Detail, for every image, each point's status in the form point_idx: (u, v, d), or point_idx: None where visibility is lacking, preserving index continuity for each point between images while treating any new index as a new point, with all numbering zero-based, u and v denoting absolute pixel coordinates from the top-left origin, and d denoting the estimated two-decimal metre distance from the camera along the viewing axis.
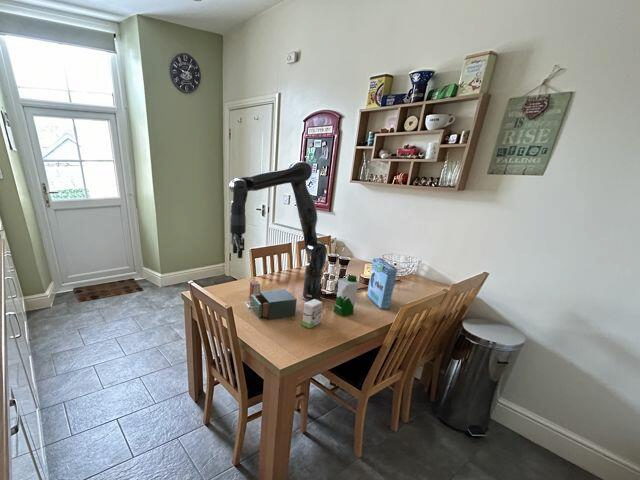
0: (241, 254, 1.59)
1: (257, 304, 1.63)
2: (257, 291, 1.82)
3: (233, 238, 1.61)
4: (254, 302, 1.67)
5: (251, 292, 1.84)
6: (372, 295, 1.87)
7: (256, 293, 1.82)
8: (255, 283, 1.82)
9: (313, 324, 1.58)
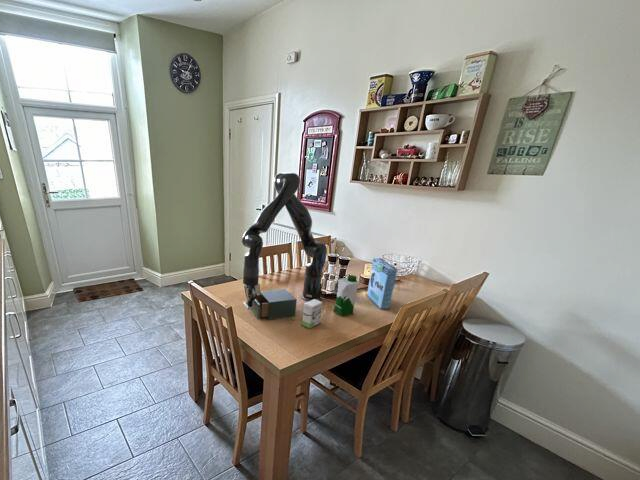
0: (251, 303, 1.64)
1: (256, 304, 1.62)
2: (257, 291, 1.82)
3: (246, 287, 1.62)
4: (253, 302, 1.66)
5: None
6: (372, 295, 1.87)
7: (256, 293, 1.82)
8: None
9: (313, 324, 1.58)
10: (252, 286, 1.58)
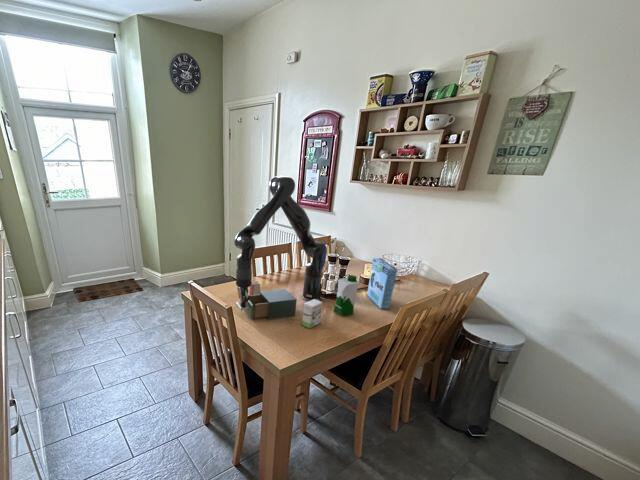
0: (244, 305, 1.63)
1: (249, 305, 1.61)
2: (257, 291, 1.82)
3: (239, 289, 1.61)
4: (246, 303, 1.65)
5: (251, 292, 1.84)
6: (372, 295, 1.87)
7: (256, 293, 1.82)
8: (255, 283, 1.82)
9: (313, 324, 1.58)
10: (245, 288, 1.57)
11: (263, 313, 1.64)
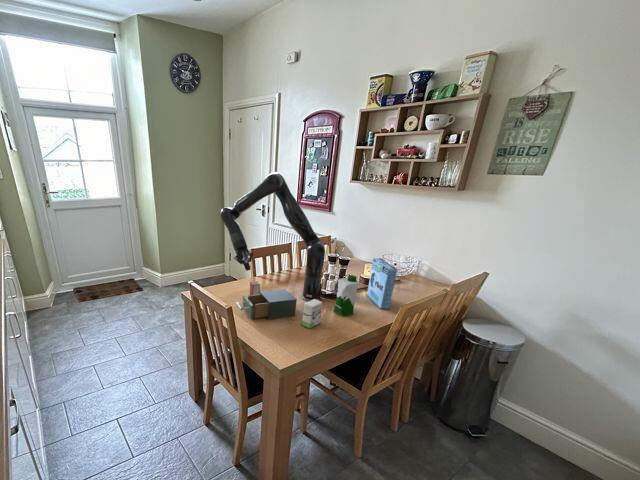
0: (245, 266, 1.81)
1: (249, 305, 1.61)
2: (257, 291, 1.82)
3: None
4: (246, 303, 1.65)
5: (251, 292, 1.84)
6: (372, 295, 1.87)
7: (256, 293, 1.82)
8: (255, 283, 1.82)
9: (313, 324, 1.58)
10: (235, 250, 1.81)
11: (263, 313, 1.64)
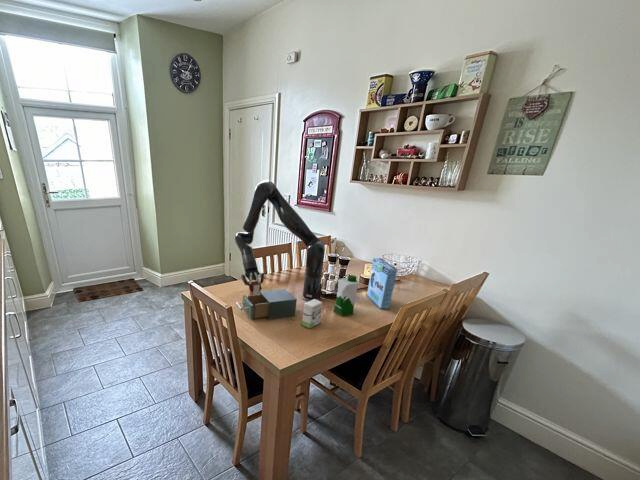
0: (249, 287, 1.82)
1: (249, 305, 1.61)
2: (257, 291, 1.82)
3: None
4: (246, 303, 1.65)
5: (251, 292, 1.84)
6: (372, 295, 1.87)
7: (256, 293, 1.82)
8: (254, 283, 1.82)
9: (313, 324, 1.58)
10: (245, 271, 1.85)
11: (263, 313, 1.64)
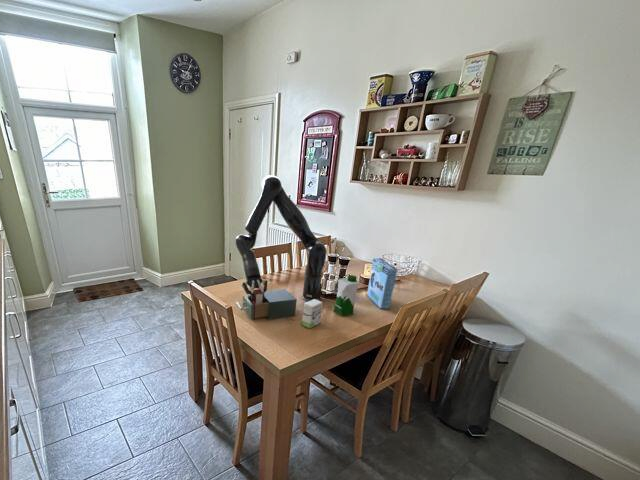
0: (251, 297, 1.63)
1: (249, 305, 1.61)
2: (260, 300, 1.64)
3: None
4: (246, 303, 1.65)
5: (253, 302, 1.66)
6: (372, 295, 1.87)
7: (259, 303, 1.64)
8: (257, 291, 1.64)
9: (313, 324, 1.58)
10: (246, 279, 1.67)
11: (263, 313, 1.64)
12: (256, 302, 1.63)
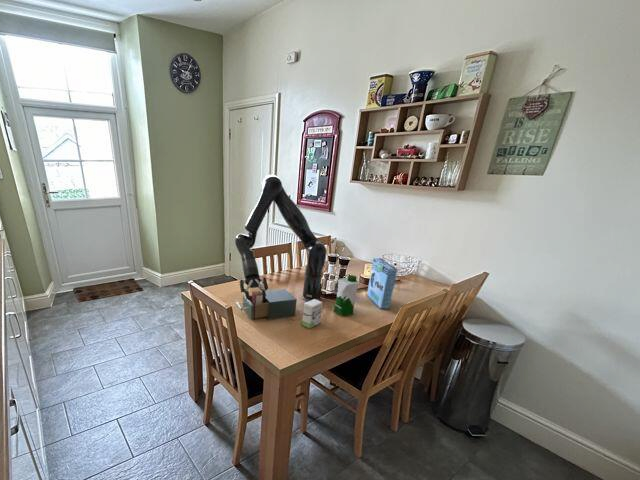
0: (246, 295, 1.63)
1: (249, 305, 1.61)
2: (260, 302, 1.64)
3: None
4: (246, 303, 1.65)
5: (253, 303, 1.66)
6: (372, 295, 1.87)
7: None
8: (257, 293, 1.64)
9: (313, 324, 1.58)
10: (245, 278, 1.67)
11: (263, 313, 1.64)
12: (256, 303, 1.64)
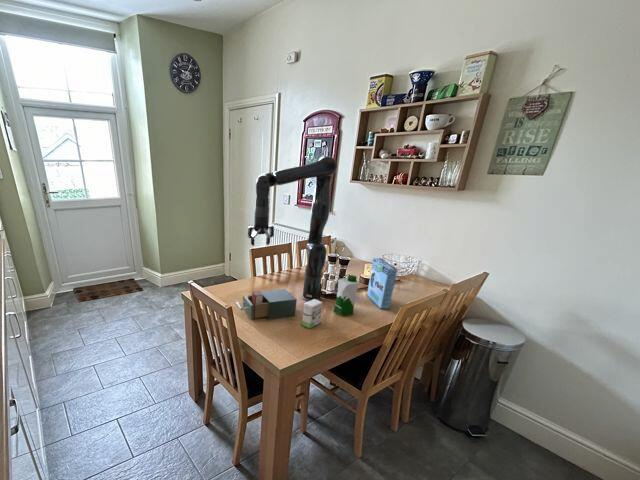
0: (251, 242, 1.77)
1: (249, 305, 1.61)
2: (260, 302, 1.64)
3: None
4: (246, 303, 1.65)
5: (253, 303, 1.66)
6: (372, 295, 1.87)
7: None
8: (257, 293, 1.64)
9: (313, 324, 1.58)
10: (254, 224, 1.74)
11: (263, 313, 1.64)
12: (256, 303, 1.64)
